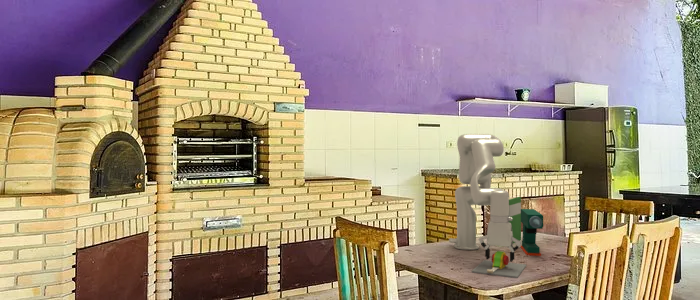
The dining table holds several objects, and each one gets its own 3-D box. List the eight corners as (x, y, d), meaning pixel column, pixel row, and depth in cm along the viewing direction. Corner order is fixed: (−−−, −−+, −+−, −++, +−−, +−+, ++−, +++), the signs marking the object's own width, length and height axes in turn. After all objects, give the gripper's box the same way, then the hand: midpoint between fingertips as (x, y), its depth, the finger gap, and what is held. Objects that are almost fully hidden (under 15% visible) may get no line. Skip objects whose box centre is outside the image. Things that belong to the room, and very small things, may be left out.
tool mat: (471, 272, 194) (471, 270, 194) (484, 261, 213) (484, 259, 213) (517, 278, 185) (517, 276, 185) (526, 265, 204) (526, 264, 204)
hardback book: (507, 238, 267) (507, 196, 267) (521, 240, 263) (520, 197, 263) (496, 243, 253) (496, 198, 253) (509, 245, 249) (509, 199, 249)
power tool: (548, 262, 210) (548, 217, 210) (531, 262, 211) (531, 217, 211) (535, 248, 241) (534, 209, 241) (520, 247, 243) (520, 208, 243)
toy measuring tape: (512, 264, 204) (512, 249, 204) (496, 274, 188) (496, 258, 188) (497, 262, 207) (497, 248, 207) (481, 272, 192) (481, 256, 192)
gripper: (522, 219, 198) (522, 260, 198) (481, 216, 207) (481, 255, 207) (519, 222, 192) (519, 264, 192) (476, 219, 200) (476, 259, 200)
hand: (499, 259), depth 199 cm, fingers open, 9 cm apart
